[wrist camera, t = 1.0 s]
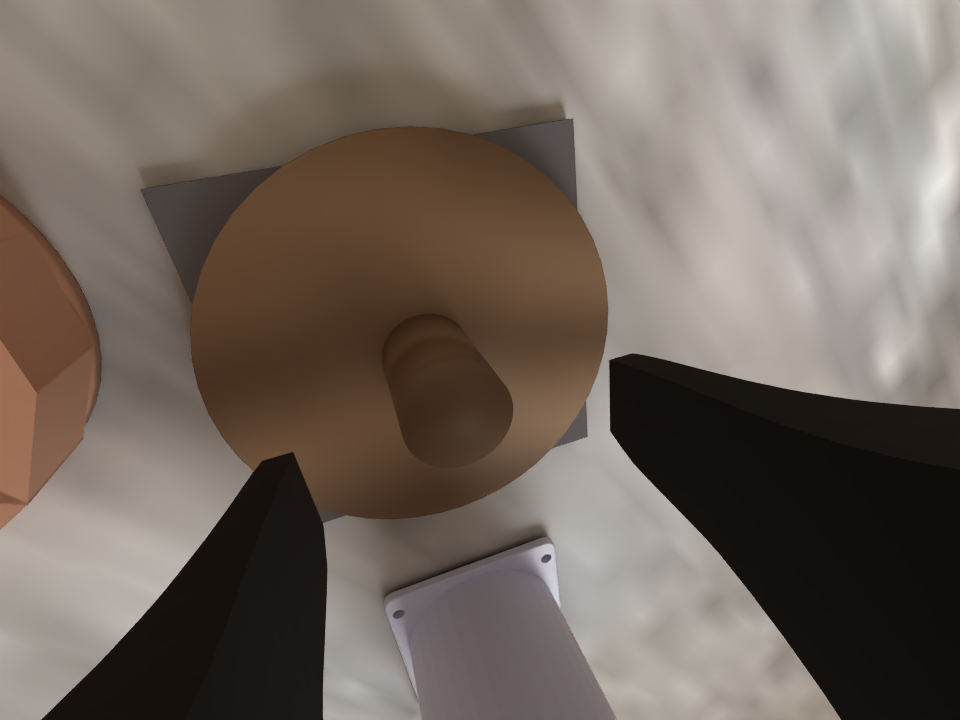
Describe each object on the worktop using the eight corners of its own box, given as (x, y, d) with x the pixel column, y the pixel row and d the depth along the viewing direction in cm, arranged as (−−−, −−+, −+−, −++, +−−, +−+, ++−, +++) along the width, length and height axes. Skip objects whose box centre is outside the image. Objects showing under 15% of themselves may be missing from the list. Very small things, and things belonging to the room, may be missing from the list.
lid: (598, 442, 20) (675, 524, 15) (285, 545, 17) (272, 680, 13) (586, 97, 14) (707, 72, 9) (108, 171, 11) (-28, 184, 7)
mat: (582, 431, 20) (587, 436, 19) (296, 523, 17) (295, 531, 17) (566, 119, 14) (573, 118, 14) (146, 188, 12) (140, 189, 11)
